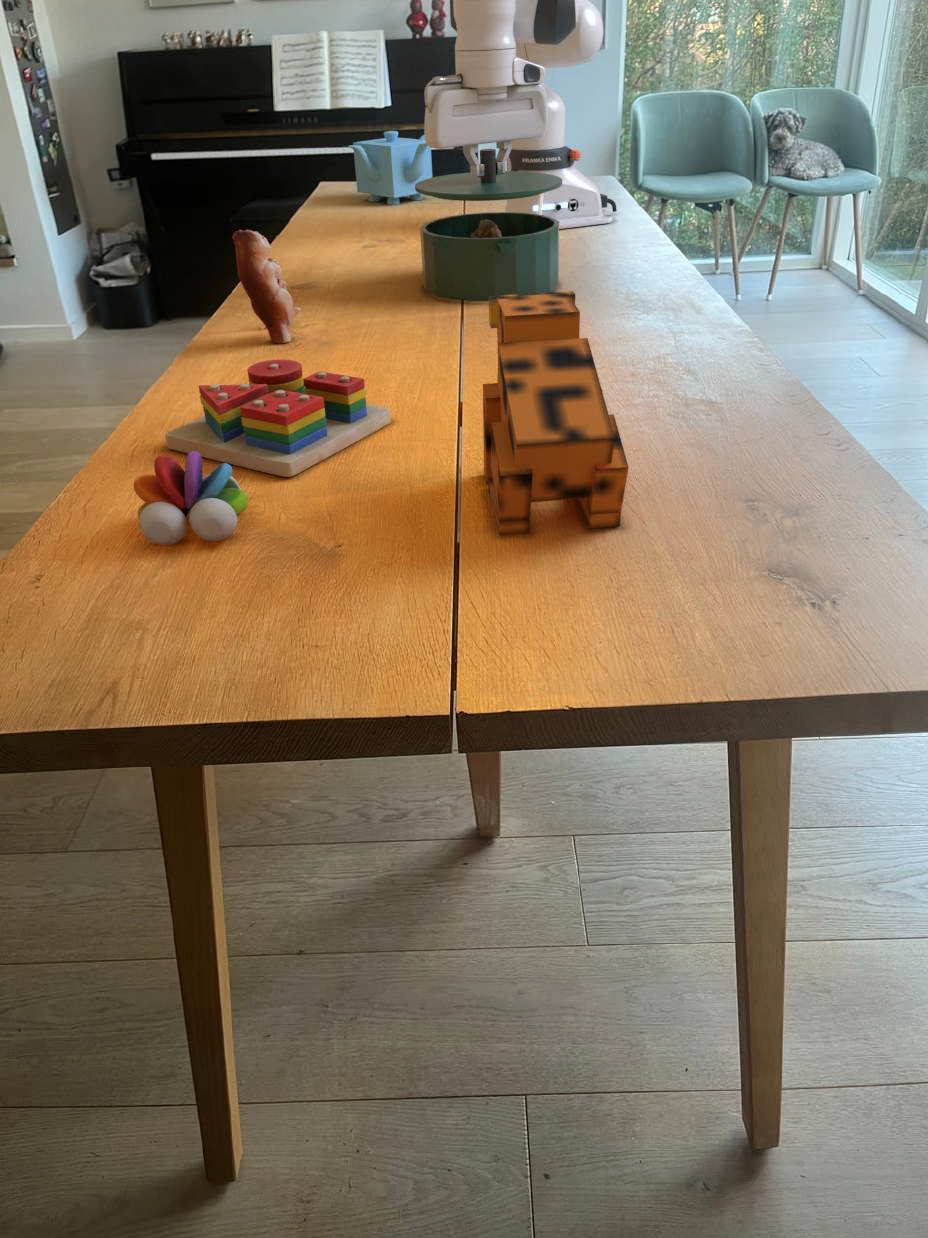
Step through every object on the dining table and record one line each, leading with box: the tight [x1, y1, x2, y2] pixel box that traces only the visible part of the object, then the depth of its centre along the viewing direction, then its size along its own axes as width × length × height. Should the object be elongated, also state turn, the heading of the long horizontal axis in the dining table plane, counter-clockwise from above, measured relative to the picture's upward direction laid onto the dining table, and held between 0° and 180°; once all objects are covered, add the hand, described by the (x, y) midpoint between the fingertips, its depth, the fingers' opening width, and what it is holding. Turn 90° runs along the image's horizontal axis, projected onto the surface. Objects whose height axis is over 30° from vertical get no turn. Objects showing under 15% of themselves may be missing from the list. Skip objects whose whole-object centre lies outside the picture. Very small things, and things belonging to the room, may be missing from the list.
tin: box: [419, 211, 560, 302], centre depth 157 cm, size 22×27×10 cm
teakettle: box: [348, 130, 433, 206], centre depth 231 cm, size 19×19×15 cm
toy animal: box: [482, 290, 629, 536], centre depth 88 cm, size 10×20×16 cm, turn 5°
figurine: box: [232, 229, 302, 344], centre depth 134 cm, size 6×8×15 cm
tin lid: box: [415, 148, 562, 202], centre depth 150 cm, size 23×23×6 cm
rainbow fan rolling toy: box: [133, 451, 249, 547], centre depth 87 cm, size 8×10×7 cm
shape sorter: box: [165, 359, 392, 478], centre depth 106 cm, size 18×17×6 cm
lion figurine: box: [470, 219, 502, 238], centre depth 156 cm, size 15×5×9 cm, turn 2°
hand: (488, 175), depth 151 cm, fingers closed on tin lid, 2 cm apart
